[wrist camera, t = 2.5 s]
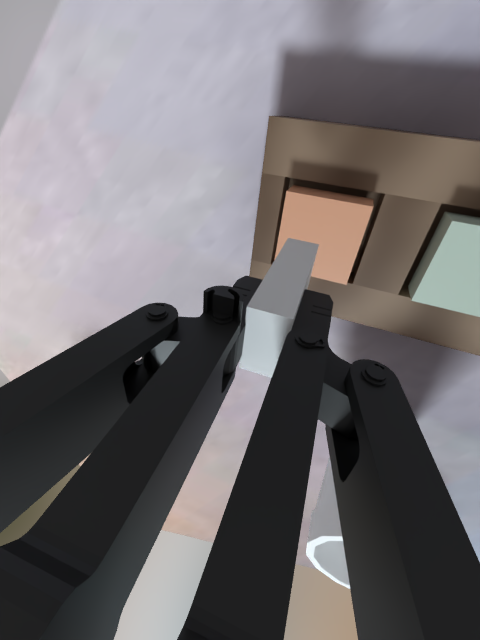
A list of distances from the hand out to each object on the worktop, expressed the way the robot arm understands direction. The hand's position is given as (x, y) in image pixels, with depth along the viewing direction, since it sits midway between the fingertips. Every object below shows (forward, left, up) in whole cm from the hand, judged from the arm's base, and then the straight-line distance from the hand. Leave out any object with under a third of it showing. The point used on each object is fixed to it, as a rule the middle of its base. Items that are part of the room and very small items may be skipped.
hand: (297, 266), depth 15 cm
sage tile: (-9, 0, -7) cm, 12 cm away
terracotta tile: (0, 0, -7) cm, 7 cm away
